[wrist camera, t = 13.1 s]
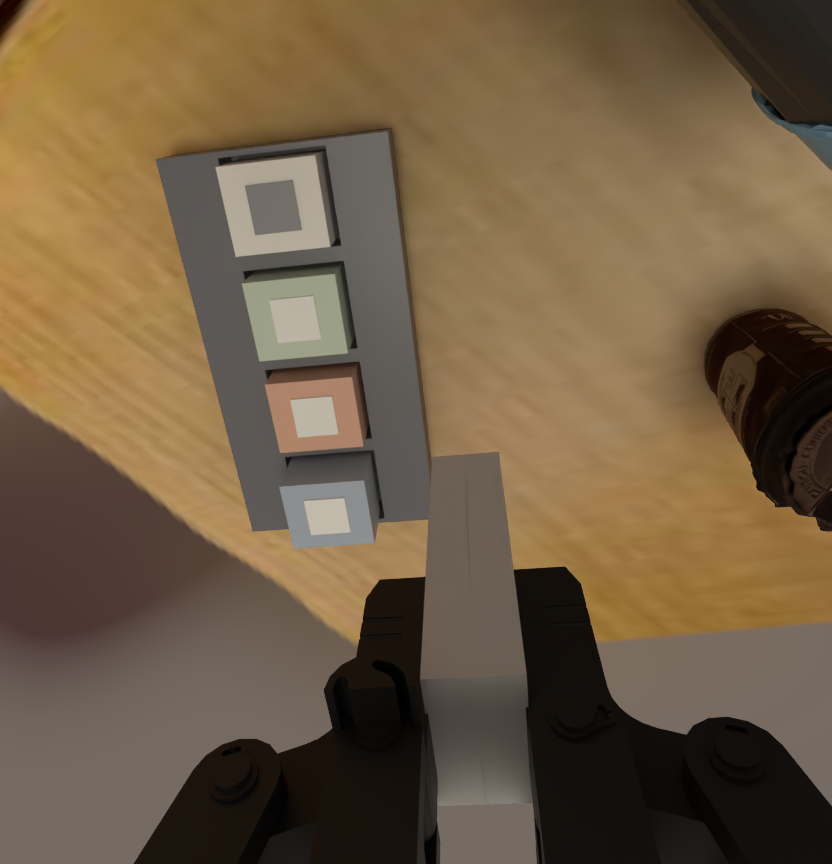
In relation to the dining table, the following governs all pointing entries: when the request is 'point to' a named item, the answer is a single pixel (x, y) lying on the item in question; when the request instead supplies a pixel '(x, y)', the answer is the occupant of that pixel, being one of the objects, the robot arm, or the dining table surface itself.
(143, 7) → the dining table surface
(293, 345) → the key
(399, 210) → the keypad
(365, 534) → the key
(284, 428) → the key
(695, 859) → the robot arm
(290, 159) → the key
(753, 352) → the coffee cup
